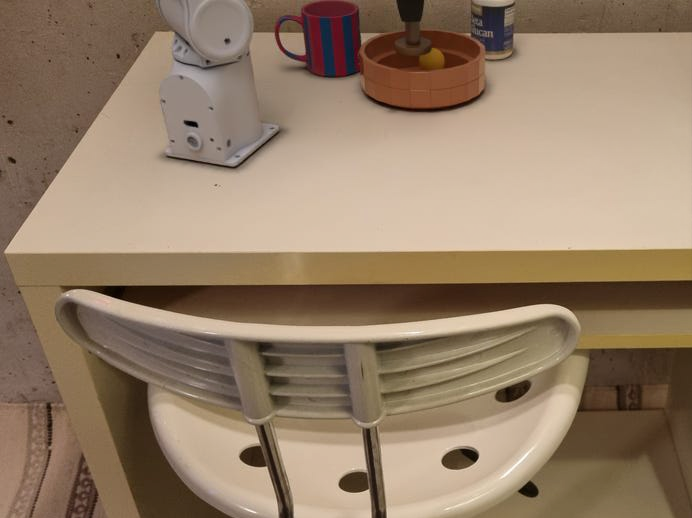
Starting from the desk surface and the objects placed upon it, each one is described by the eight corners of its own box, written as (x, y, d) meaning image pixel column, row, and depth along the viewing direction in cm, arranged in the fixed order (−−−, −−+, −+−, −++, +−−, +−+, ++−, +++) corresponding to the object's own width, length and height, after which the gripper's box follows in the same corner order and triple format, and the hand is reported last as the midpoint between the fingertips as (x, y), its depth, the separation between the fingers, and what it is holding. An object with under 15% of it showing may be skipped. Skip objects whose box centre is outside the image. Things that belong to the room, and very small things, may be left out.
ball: (440, 80, 99) (439, 54, 97) (416, 77, 99) (415, 51, 97) (448, 71, 101) (448, 46, 99) (424, 68, 101) (424, 43, 100)
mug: (364, 76, 101) (359, 16, 96) (279, 79, 100) (270, 19, 95) (361, 56, 106) (357, -1, 101) (281, 59, 105) (273, 1, 100)
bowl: (461, 120, 92) (462, 79, 89) (342, 103, 95) (338, 62, 92) (499, 75, 102) (500, 36, 99) (390, 60, 105) (388, 23, 102)
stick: (424, 58, 91) (421, -33, 85) (389, 53, 92) (384, -37, 86) (436, 46, 94) (435, -43, 88) (403, 42, 94) (399, -46, 88)
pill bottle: (462, 55, 107) (463, -28, 100) (482, 43, 110) (484, -38, 104) (501, 63, 105) (503, -21, 98) (519, 50, 108) (523, -32, 102)
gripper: (448, -115, 76) (449, 40, 85) (446, -143, 87) (448, -3, 96) (369, -115, 76) (379, 40, 85) (377, -144, 87) (385, -3, 96)
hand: (411, 17), depth 90 cm, fingers closed on stick
